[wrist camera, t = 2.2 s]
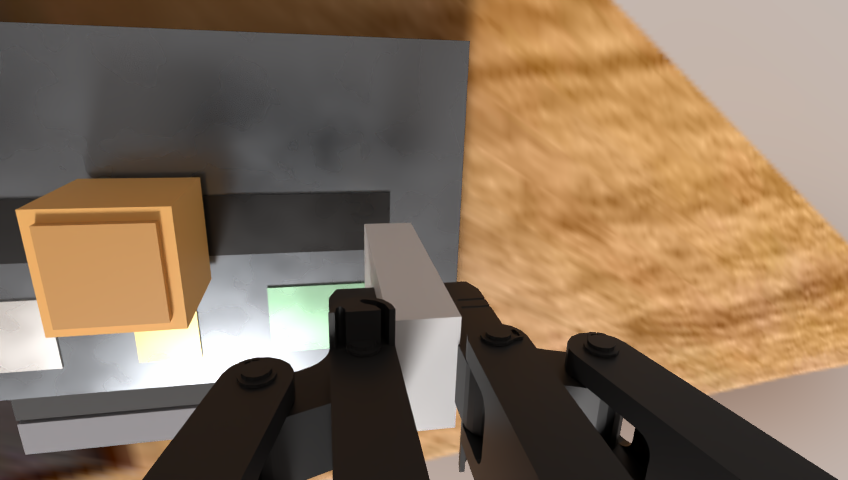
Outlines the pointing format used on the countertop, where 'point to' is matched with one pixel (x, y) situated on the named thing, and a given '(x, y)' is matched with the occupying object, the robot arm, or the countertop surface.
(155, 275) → the orange block
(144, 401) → the dark grey bar
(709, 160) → the countertop surface
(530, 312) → the countertop surface
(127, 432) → the light grey bar
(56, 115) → the panel
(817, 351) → the countertop surface
